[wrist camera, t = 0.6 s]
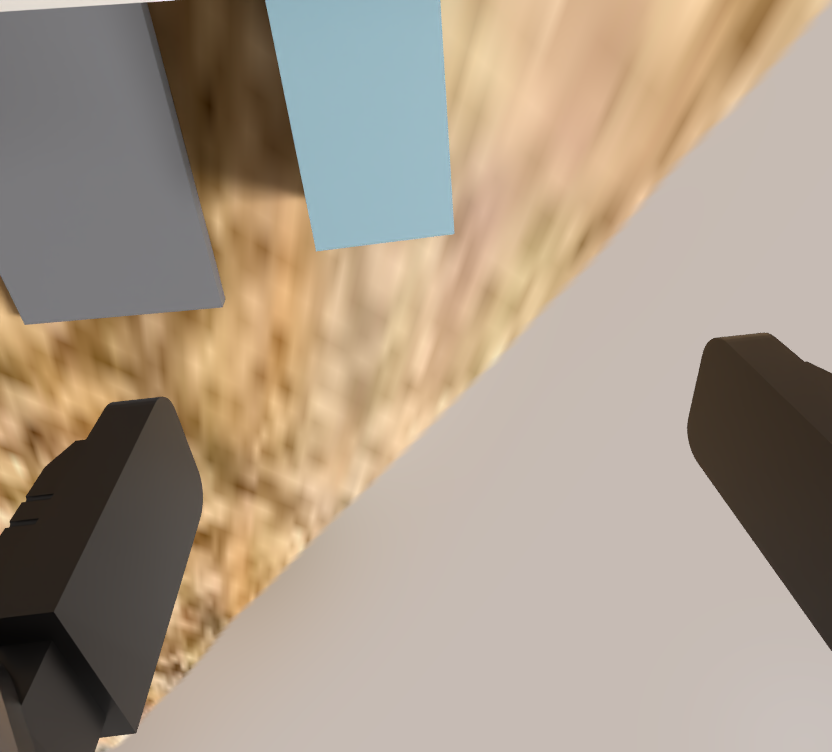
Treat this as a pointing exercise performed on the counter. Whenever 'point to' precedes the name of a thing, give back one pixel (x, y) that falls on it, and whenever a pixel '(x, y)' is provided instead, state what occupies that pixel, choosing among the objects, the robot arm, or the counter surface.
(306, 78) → the block
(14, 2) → the white box
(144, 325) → the counter surface
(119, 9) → the mat
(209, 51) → the counter surface
